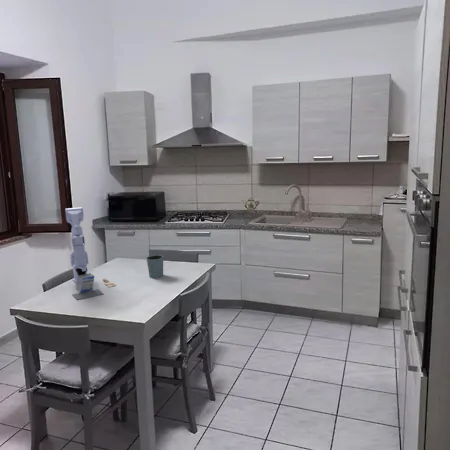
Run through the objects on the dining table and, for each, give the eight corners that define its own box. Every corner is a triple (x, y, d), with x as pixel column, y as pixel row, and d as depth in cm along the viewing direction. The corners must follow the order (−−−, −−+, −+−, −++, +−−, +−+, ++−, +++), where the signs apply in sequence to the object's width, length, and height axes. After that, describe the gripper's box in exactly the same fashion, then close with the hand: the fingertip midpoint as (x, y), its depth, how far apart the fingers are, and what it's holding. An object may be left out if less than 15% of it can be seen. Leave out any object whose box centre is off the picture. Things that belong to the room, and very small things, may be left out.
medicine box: (80, 293, 219) (82, 278, 217) (75, 289, 222) (77, 275, 219) (92, 289, 225) (94, 276, 223) (88, 286, 228) (90, 272, 225)
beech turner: (100, 281, 240) (100, 279, 240) (107, 279, 243) (107, 277, 243) (108, 287, 228) (108, 286, 228) (116, 286, 231) (116, 284, 230)
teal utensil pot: (166, 273, 251) (165, 255, 249) (162, 278, 241) (160, 259, 239) (150, 273, 252) (149, 255, 250) (145, 278, 242) (144, 259, 240)
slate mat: (72, 295, 218) (72, 294, 218) (98, 289, 225) (98, 288, 225) (77, 300, 210) (77, 299, 210) (103, 294, 217) (103, 293, 217)
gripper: (69, 255, 226) (71, 279, 228) (75, 261, 214) (78, 285, 216) (82, 253, 229) (84, 276, 232) (89, 258, 218) (91, 282, 220)
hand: (82, 280), depth 224 cm, fingers closed
